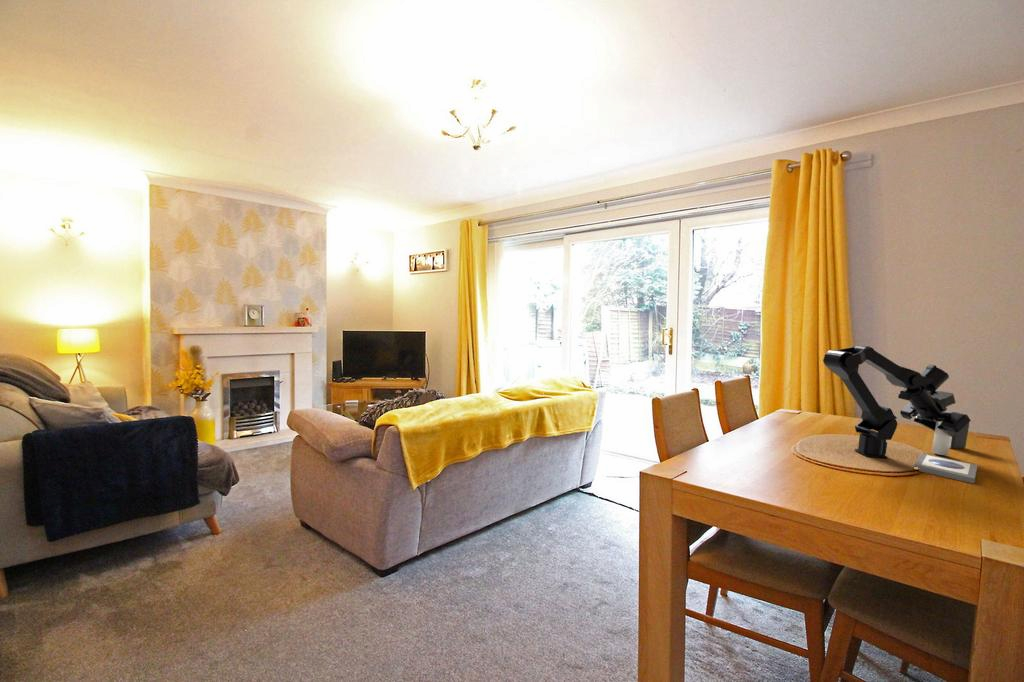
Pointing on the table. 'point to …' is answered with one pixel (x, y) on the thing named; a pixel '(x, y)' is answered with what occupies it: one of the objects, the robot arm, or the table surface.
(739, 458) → the table surface
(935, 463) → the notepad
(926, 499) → the table surface
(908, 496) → the table surface
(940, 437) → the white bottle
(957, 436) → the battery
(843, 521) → the table surface
